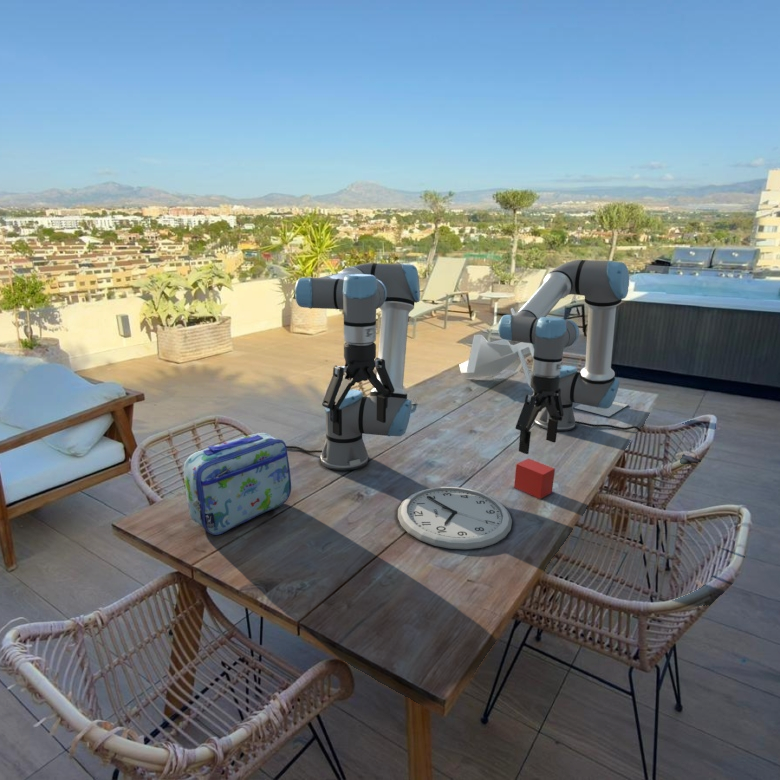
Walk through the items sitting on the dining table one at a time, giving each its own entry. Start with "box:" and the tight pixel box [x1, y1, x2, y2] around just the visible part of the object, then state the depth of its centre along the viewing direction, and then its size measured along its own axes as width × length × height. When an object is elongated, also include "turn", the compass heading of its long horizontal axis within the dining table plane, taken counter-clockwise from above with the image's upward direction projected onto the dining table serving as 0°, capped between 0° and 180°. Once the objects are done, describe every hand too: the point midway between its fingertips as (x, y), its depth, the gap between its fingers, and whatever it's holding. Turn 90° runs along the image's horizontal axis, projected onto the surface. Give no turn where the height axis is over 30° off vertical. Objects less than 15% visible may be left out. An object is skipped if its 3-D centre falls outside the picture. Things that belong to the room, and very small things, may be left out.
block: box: [513, 458, 556, 500], centre depth 152 cm, size 9×6×8 cm, turn 41°
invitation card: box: [573, 400, 629, 418], centre depth 226 cm, size 21×1×15 cm
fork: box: [411, 396, 419, 405], centre depth 222 cm, size 3×16×2 cm, turn 160°
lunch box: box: [183, 432, 292, 536], centre depth 133 cm, size 26×11×21 cm, turn 134°
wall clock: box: [397, 486, 513, 550], centre depth 138 cm, size 30×2×30 cm
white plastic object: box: [458, 307, 535, 392], centre depth 256 cm, size 37×45×31 cm
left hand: (359, 427), depth 128 cm, fingers open, 13 cm apart
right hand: (537, 446), depth 149 cm, fingers open, 13 cm apart
